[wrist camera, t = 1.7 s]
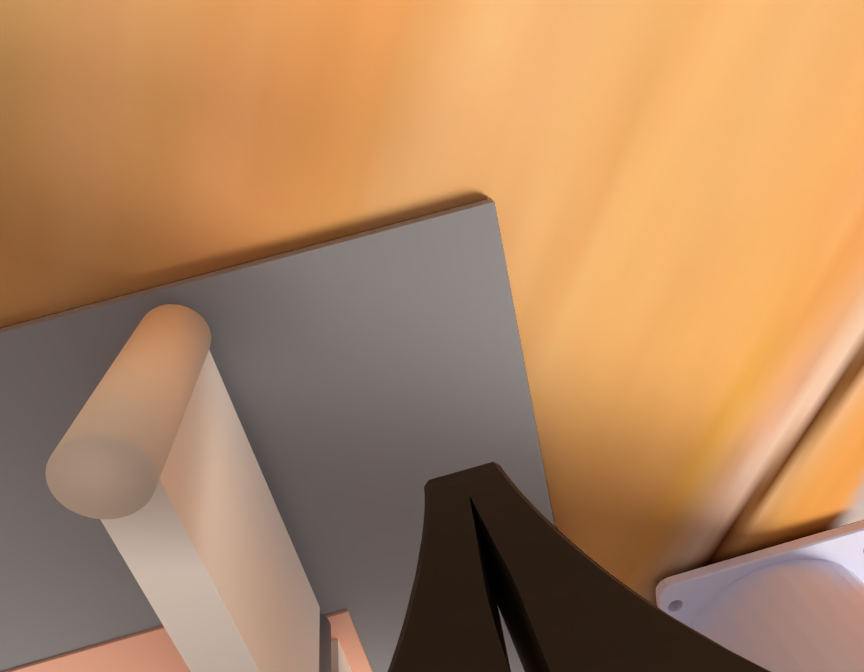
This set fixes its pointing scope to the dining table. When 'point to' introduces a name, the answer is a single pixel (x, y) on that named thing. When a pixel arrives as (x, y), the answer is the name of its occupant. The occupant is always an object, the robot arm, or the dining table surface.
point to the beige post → (190, 505)
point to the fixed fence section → (338, 658)
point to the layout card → (281, 431)
